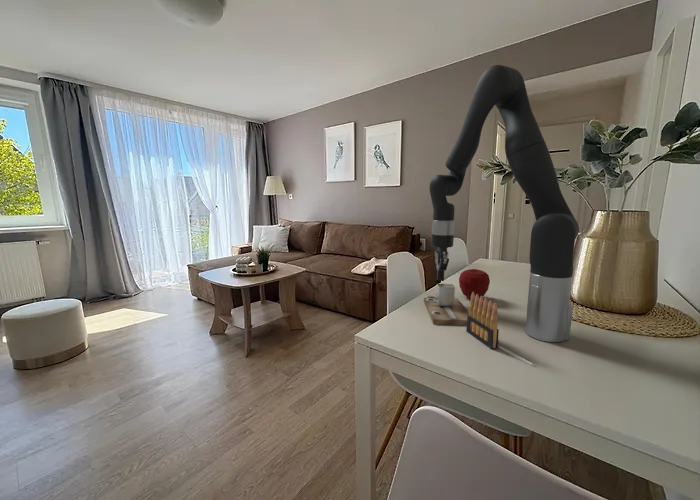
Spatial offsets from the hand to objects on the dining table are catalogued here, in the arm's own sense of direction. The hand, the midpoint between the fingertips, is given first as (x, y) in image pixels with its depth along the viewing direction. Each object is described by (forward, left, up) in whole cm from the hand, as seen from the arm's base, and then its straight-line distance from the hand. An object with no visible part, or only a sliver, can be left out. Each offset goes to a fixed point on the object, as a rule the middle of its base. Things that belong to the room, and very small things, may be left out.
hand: (440, 280), depth 105 cm
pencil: (-9, +35, -9) cm, 37 cm away
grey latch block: (+1, +8, -6) cm, 10 cm away
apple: (-13, -5, -8) cm, 17 cm away
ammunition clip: (-5, +29, -9) cm, 31 cm away
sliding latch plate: (0, +10, -8) cm, 13 cm away
